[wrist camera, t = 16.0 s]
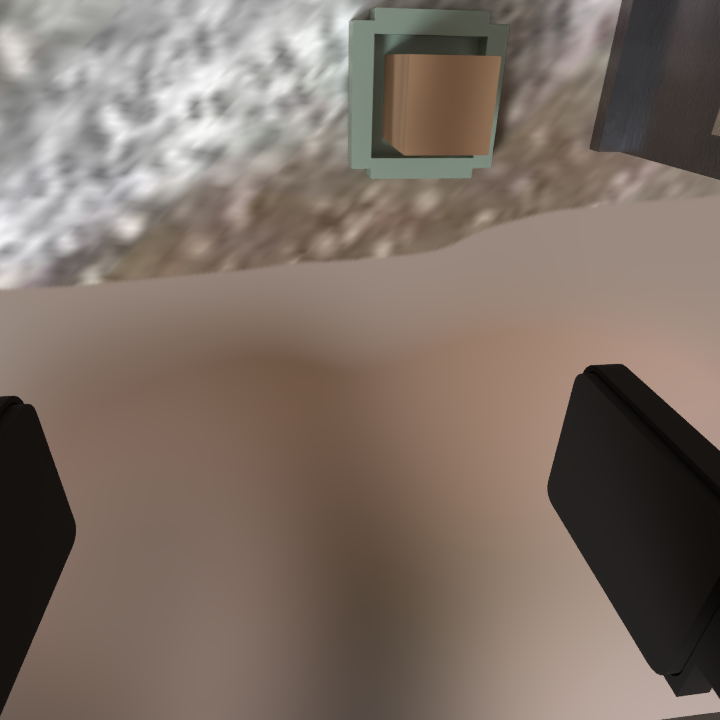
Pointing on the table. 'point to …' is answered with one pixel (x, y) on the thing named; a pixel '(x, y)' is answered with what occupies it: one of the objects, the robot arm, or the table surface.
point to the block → (439, 103)
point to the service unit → (664, 85)
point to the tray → (366, 83)
